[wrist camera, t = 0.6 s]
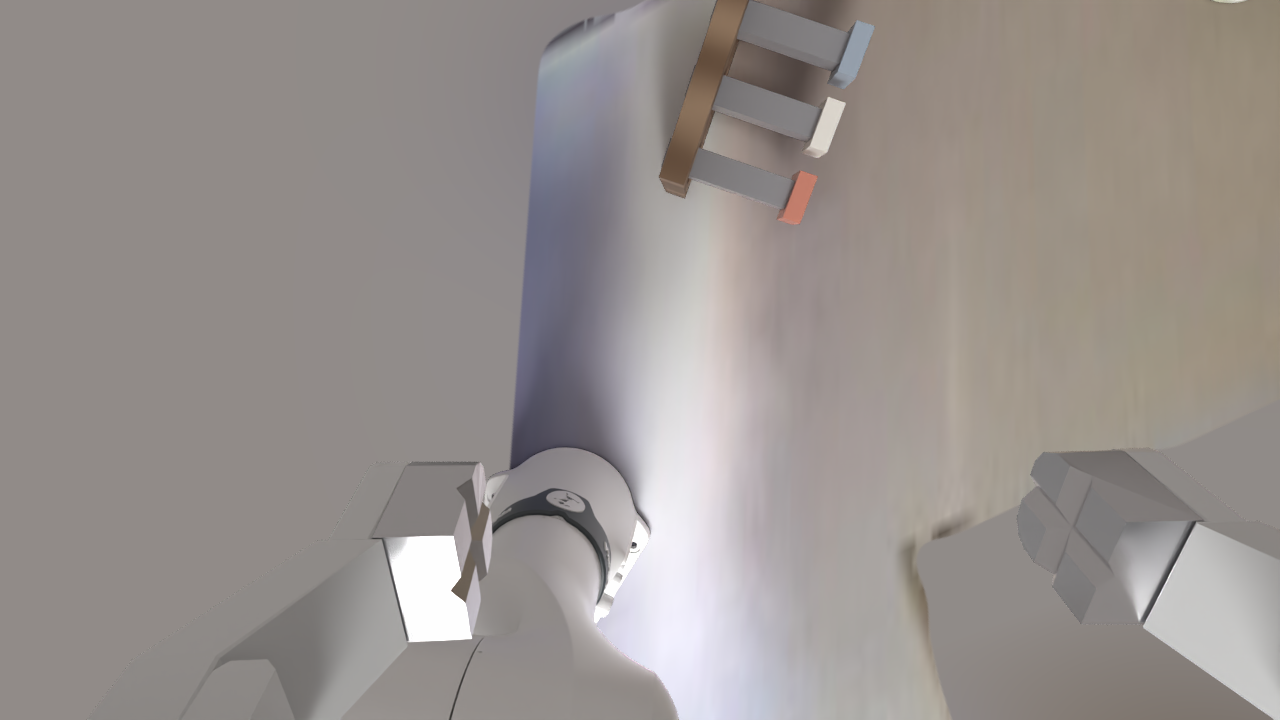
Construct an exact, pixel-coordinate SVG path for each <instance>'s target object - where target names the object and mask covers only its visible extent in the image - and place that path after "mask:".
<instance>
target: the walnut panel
mask: <svg viewBox="0 0 1280 720" xmlns="http://www.w3.org/2000/svg"><path fill="white" fill-rule="evenodd" d="M748 3H749V0H718V1H717V4H716V7H715V10H714V13H713V16H712V19H711V22H710V25H709V28H708V31H707V34H706V37H705V40H704V43H703V46H702V49H701V52H700V55H699V58H698V61H697V64H696V67H695V70H694V73H693V76H692V79H691V82H690V85H689V88H688V91H687V94H686V97H685V100H684V103H683V106H682V109H681V112H680V115H679V118H678V121H677V124H676V127H675V130H674V133H673V136H672V139H671V142H670V145H669V148H668V151H667V154H666V157H665V160H664V163H663V166H662V169H661V172H660V175H659V178H660V180H661V182H662V184H663V186H664V189H665V191H666V192H668V193H671V194H674V195H677V196H679V197H682V198H685V197H686V194H687V191H688V188H689V185H690V182H691V179H689V175H690V172H691V169H692V166H693V163H694V160H695V157H696V154H697V152H698V149H699V148H701V149H702V147H703V144H704V141H705V139H706V136H707V133H708V130H709V127H710V124H711V121H712V118H713V115H714V112H715V111H714V110H712V108H713V105H714V102H715V99H716V96H717V93H718V90H719V87H720V84H721V81H722V79H723V76H724V75H725V76H727V74H728V72H729V69H730V66H731V63H732V60H733V57H734V54H735V51H736V48H737V45H738V42H739V39H737V35H738V32H739V29H740V26H741V23H742V20H743V17H744V14H745V11H746V8H747V5H748Z"/></svg>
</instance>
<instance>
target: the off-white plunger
mask: <svg viewBox="0 0 1280 720" xmlns="http://www.w3.org/2000/svg"><path fill="white" fill-rule="evenodd" d="M695 67H696V65H695ZM695 67H694V70H695ZM694 70H693V73H694ZM693 73H692V76H693ZM692 76H691V79H692ZM691 79H690V82H691ZM690 82H689V85H690ZM689 85H688V88H689ZM688 88H687V91H688ZM687 91H686V94H687ZM686 94H685V97H686ZM845 104H846V103H844V102H841V101H838V100H835V99H833V98H830V97H828V98H827V99H826V100H825V101H824V102H823V103H822V104H821V105H820V106H819V107H815V106H812V105H810V104H807V103H804V102H801V101H798V100H795V99H792V98H789V97H786V96H783V95H780V94H778V93H775V92H772V91H769V90H766V89H763V88H760V87H757V86H754V85H751V84H749V83H746V82H743V81H740V80H737V79H734V78H731V77H728V76H725V75H724V76H723V79H722V81H721V84H720V87H719V90H718V93H717V96H716V99H715V102H714V105H713V108H712V110H714V111H717V112H720V113H723V114H726V115H728V116H731V117H734V118H737V119H740V120H743V121H746V122H749V123H752V124H755V125H757V126H760V127H763V128H766V129H769V130H772V131H775V132H778V133H781V134H784V135H786V136H789V137H792V138H795V139H798V140H801V141H804V142H805V144H804V147H803V150H802V152H801V153H803V154H806V155H809V156H812V157H815V158H819V157H821V156H822V155H824V154H825V153H827V151H828V149H829V146H830V143H831V141H832V138H833V136H834V133H835V130H836V128H837V125H838V122H839V120H840V117H841V115H842V112H843V109H844V107H845Z"/></svg>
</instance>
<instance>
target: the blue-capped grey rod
mask: <svg viewBox="0 0 1280 720" xmlns="http://www.w3.org/2000/svg"><path fill="white" fill-rule="evenodd" d="M717 1H718V0H717ZM717 1H716V4H717ZM716 4H715V7H716ZM715 7H714V10H715ZM714 10H713V13H714ZM713 13H712V16H713ZM712 16H711V19H712ZM711 19H710V22H711ZM874 28H875V26H873V25H870V24H867V23H864V22H861V21H858V20H857V21H856V22H855V23H854V25H853V26H852V27H851V29H850V30H849V31H848V33H847V32H844V31H841V30H838V29H835V28H833V27H830V26H827V25H824V24H821V23H818V22H815V21H812V20H809V19H806V18H803V17H800V16H798V15H795V14H792V13H789V12H786V11H783V10H780V9H777V8H774V7H771V6H768V5H765V4H762V3H760V2H757V1H754V0H749V3H748V5H747V8H746V11H745V14H744V17H743V20H742V23H741V26H740V29H739V32H738V35H737V39H739V40H742V41H745V42H748V43H751V44H754V45H757V46H759V47H762V48H765V49H768V50H771V51H774V52H777V53H780V54H783V55H786V56H789V57H791V58H794V59H797V60H800V61H803V62H806V63H809V64H812V65H815V66H818V67H821V68H823V69H826V70H829V71H832V72H831V75H830V77H829V80H828V83H827V84H830V85H833V86H836V87H839V88H842V89H845V88H846V87H847V86H848V85H849V84H850V83H851V82H852V81H853V80H854V79H855V78H856V75H857V73H858V70H859V67H860V65H861V62H862V59H863V57H864V54H865V52H866V49H867V46H868V44H869V41H870V38H871V36H872V33H873V31H874Z"/></svg>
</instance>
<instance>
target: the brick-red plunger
mask: <svg viewBox="0 0 1280 720" xmlns="http://www.w3.org/2000/svg"><path fill="white" fill-rule="evenodd" d="M671 139H672V138H671ZM671 139H670V142H671ZM670 142H669V145H670ZM669 145H668V148H669ZM668 148H667V151H668ZM667 151H666V154H667ZM666 154H665V157H666ZM665 157H664V160H665ZM664 160H663V163H664ZM663 163H662V166H663ZM817 178H818V176H815V175H812V174H809V173H806V172H803V171H799V172H797V173H796V174H794V175H793V176H792V179H788V178H785V177H783V176H780V175H777V174H774V173H771V172H768V171H765V170H762V169H759V168H756V167H754V166H751V165H748V164H745V163H742V162H739V161H736V160H733V159H730V158H728V157H725V156H722V155H719V154H716V153H713V152H710V151H707V150H704V149H701V148H699V149H698V152H697V154H696V157H695V160H694V163H693V166H692V169H691V172H690V175H689V179H692V180H695V181H698V182H701V183H704V184H707V185H710V186H713V187H715V188H718V189H721V190H724V191H727V192H730V193H733V194H736V195H739V196H741V197H744V198H747V199H750V200H753V201H756V202H759V203H762V204H765V205H768V206H770V207H773V208H776V209H779V210H780V211H779V214H778V217H777V220H780V221H783V222H786V223H789V224H792V225H794V224H800V222H801V219H802V217H803V214H804V212H805V209H806V206H807V204H808V201H809V198H810V196H811V193H812V191H813V188H814V185H815V183H816V180H817Z"/></svg>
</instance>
